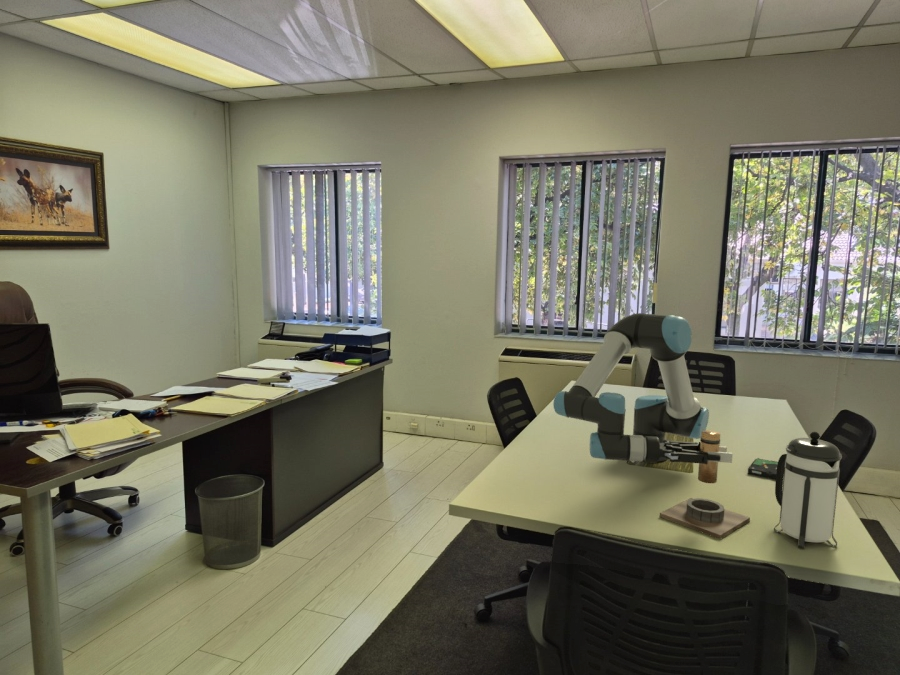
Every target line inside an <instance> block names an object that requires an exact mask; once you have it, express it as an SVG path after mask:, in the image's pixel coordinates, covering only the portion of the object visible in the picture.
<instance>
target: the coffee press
mask: <svg viewBox="0 0 900 675" xmlns="http://www.w3.org/2000/svg"><path fill="white" fill-rule="evenodd" d="M820 438H821V436H820V433H819V432H818V431H812V432H811V433H810V434H809V437H798V438H794V439H792V440H790V441H789V442H788V444H786V446H785V451H786V453H783V454H781V455H780V457H779V459H778V461H777V462H778V465H777V473H776V480H775V483H774V486H775V487H774V495H775V499H776V502H777V503H778V505H779V506H780V512H779V522H778V523H777V524H776V525H775V526H774V528H773V532H774V533H780V532H783V533H785V534H787V535H788V536H790V537H792V538H794V539H797V540H798V542H797V548H799V549H802V550H803V549H805V545H806V542H807V543H825V542H826V543H827V544H829V546H831V547H832V548H836V547H837V546H838V542H837V540H836V539H835V536H834V527H835V526H834V525H835V516H836V507H837V497H838V489H839V480H840V472H841V470H840V462H841V460H842V457H843V456H842V455H843V454H842V453H841V452H840V449H839V448H838V446H836V445H835V444H833V443H832V442H829V441H825V440H822V439H820ZM784 467H785V469H784ZM779 525H780V528H781V529H779V530H777V529H776V528H777V527H778V526H779ZM831 538H832V541H833V542H834V543H835V544H833V543H831V541H830V539H831Z"/></svg>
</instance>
